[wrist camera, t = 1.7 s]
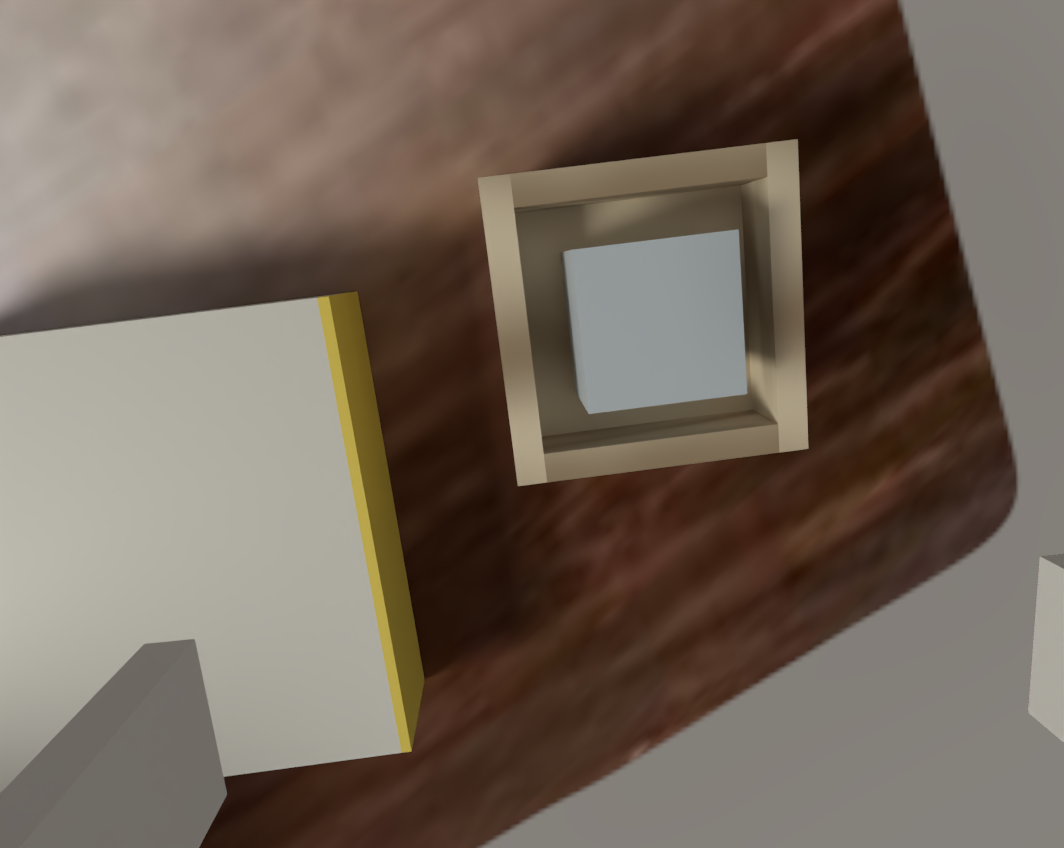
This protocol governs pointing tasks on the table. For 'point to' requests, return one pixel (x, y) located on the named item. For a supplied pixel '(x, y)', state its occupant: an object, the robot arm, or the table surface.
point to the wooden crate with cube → (631, 216)
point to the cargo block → (656, 321)
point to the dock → (206, 529)
